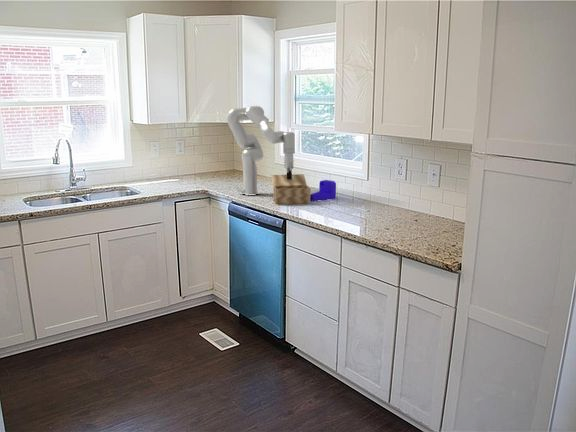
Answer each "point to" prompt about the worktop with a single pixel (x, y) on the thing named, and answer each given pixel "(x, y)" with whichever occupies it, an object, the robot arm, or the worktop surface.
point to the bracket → (324, 191)
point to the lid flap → (288, 180)
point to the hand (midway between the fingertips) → (289, 178)
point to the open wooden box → (291, 194)
